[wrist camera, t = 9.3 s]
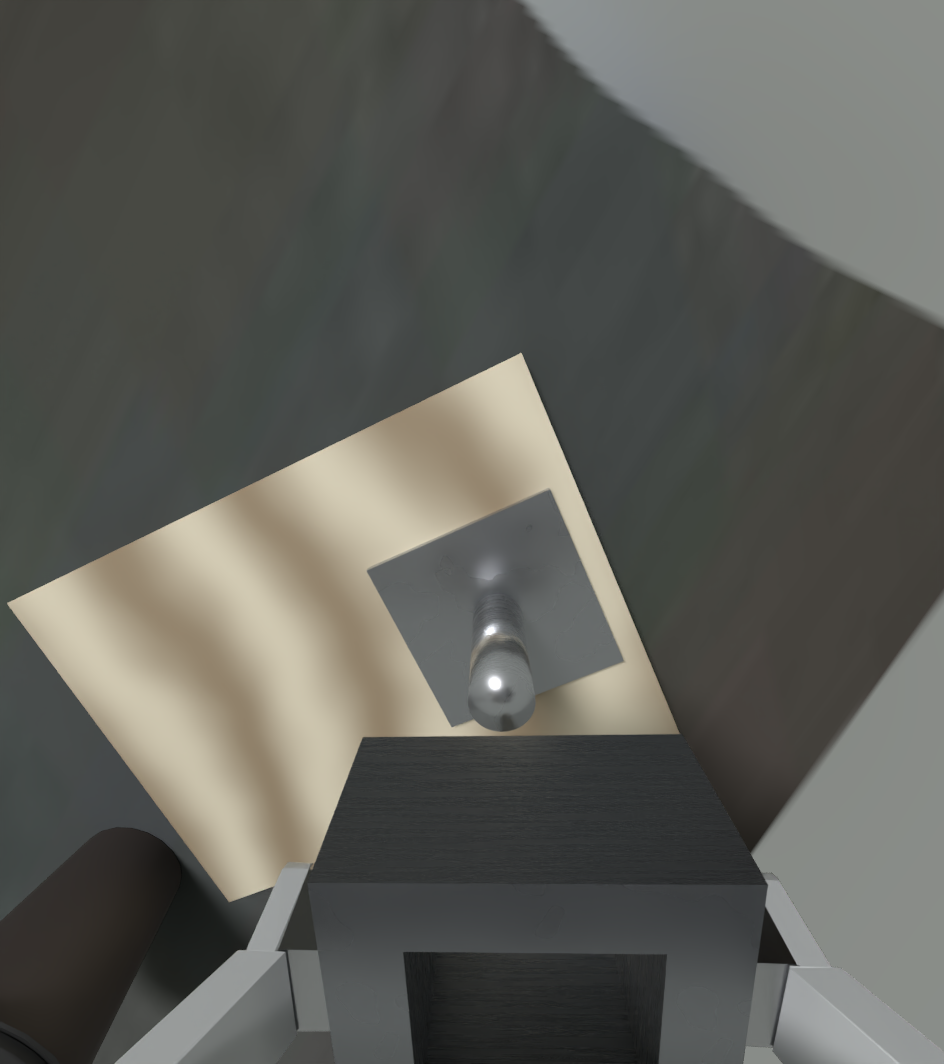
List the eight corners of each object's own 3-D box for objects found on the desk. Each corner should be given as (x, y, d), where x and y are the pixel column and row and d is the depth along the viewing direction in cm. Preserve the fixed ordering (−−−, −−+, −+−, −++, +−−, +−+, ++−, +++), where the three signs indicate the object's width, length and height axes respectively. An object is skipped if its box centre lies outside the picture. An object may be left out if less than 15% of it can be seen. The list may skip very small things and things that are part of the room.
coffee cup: (52, 793, 26) (-210, 1033, 16) (210, 819, 26) (45, 1072, 16) (59, 912, 28) (-168, 1187, 18) (205, 936, 28) (56, 1220, 18)
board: (240, 880, 27) (229, 902, 26) (31, 592, 23) (7, 603, 22) (672, 723, 24) (682, 740, 22) (519, 355, 20) (521, 353, 18)
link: (388, 970, 11) (351, 1172, 8) (362, 737, 10) (307, 882, 7) (663, 974, 11) (726, 1184, 8) (682, 734, 9) (767, 883, 6)
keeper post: (452, 721, 22) (439, 845, 16) (368, 567, 21) (318, 640, 14) (621, 656, 21) (676, 762, 15) (548, 487, 20) (577, 529, 13)
